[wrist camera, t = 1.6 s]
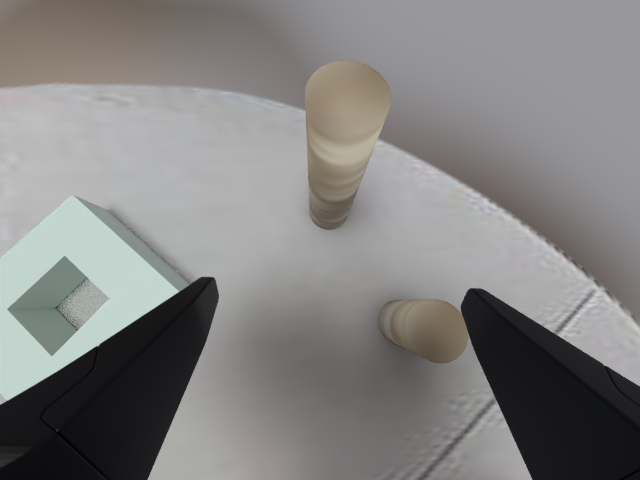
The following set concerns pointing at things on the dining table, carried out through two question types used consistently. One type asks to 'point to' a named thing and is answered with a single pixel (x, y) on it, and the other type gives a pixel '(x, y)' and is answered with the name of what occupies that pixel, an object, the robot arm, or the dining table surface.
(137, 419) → the robot arm
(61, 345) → the collar block
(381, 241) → the dining table surface
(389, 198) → the dining table surface
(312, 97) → the tall pin
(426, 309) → the short pin
